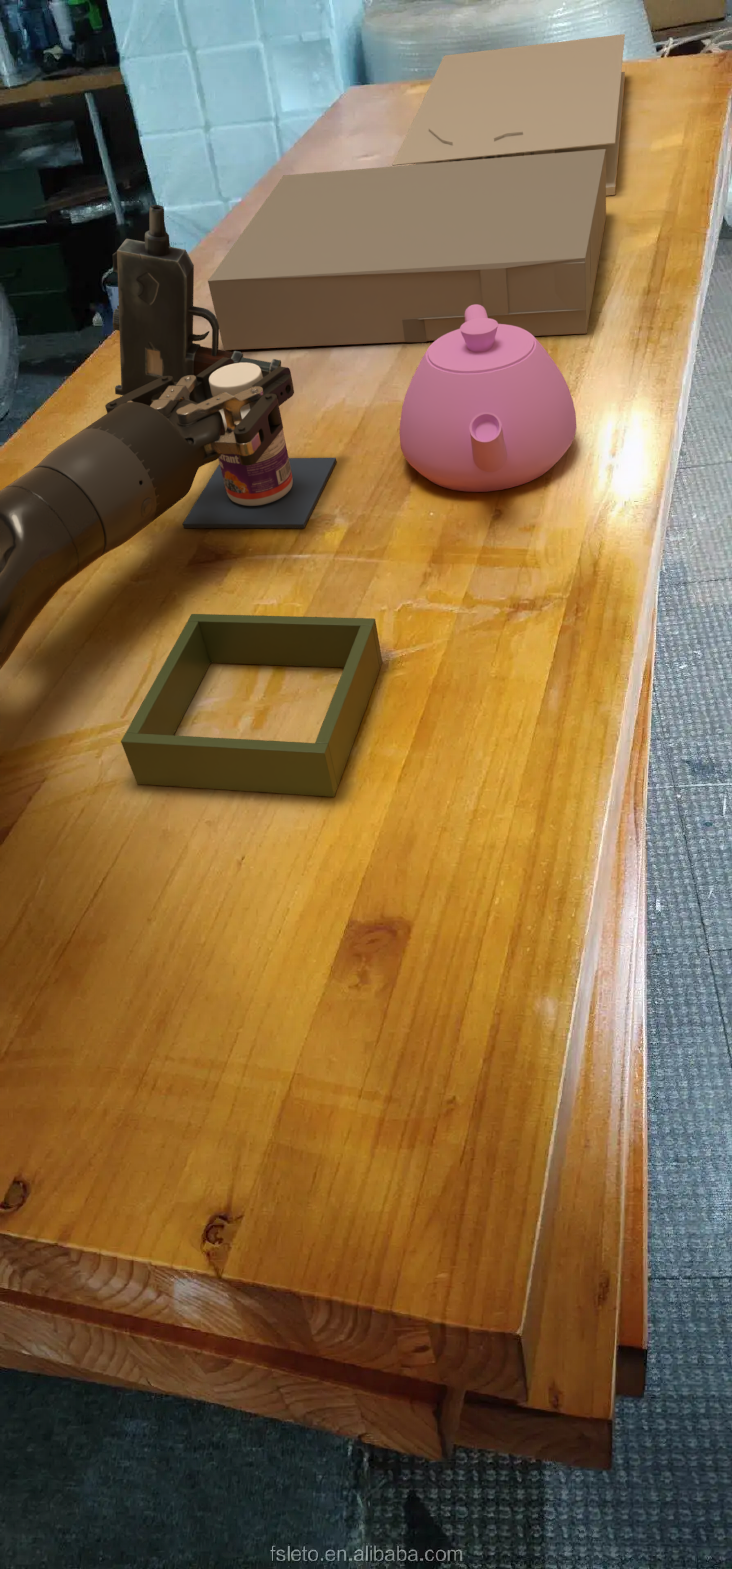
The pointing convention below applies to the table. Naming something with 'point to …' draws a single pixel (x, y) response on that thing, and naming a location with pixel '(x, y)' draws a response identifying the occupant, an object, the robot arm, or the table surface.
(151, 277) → the gun
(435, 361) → the teapot
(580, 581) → the table surface
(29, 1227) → the table surface
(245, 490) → the pill bottle
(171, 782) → the square frame
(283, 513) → the mat
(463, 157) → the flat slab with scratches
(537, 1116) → the table surface
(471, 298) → the box
